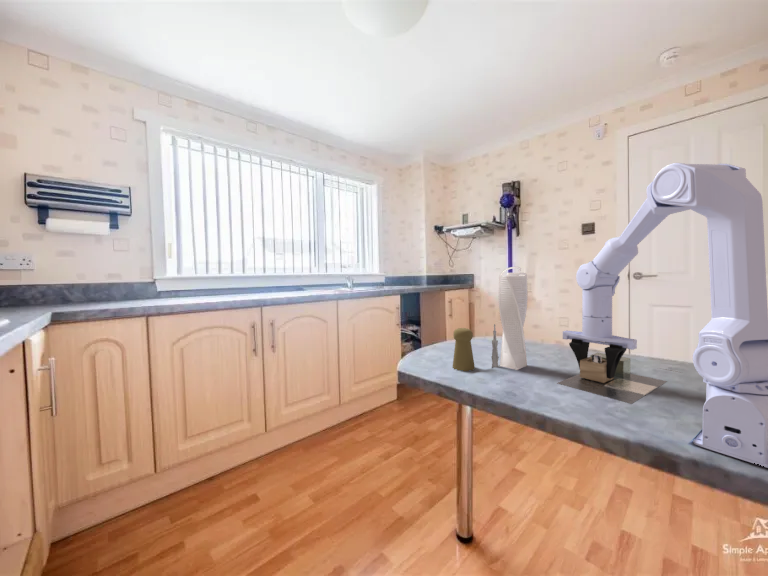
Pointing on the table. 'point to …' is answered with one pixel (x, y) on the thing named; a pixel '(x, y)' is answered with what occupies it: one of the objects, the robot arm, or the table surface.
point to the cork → (463, 350)
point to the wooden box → (594, 370)
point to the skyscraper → (511, 321)
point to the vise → (616, 382)
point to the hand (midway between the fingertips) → (596, 374)
